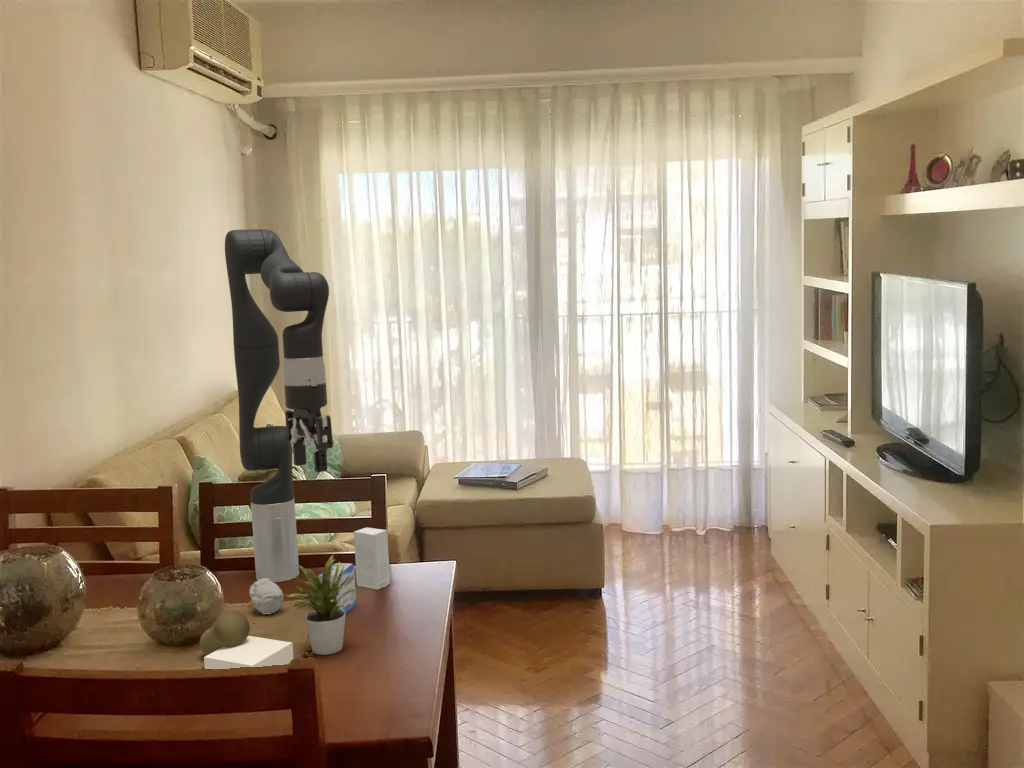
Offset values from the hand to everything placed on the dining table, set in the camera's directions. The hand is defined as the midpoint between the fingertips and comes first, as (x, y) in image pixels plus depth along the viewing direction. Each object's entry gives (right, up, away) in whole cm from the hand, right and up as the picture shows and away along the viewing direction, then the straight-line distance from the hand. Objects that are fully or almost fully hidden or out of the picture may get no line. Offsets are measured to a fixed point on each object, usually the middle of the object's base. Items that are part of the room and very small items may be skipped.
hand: (310, 468), depth 176 cm
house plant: (+4, -31, -8) cm, 32 cm away
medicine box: (+3, -29, +10) cm, 31 cm away
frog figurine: (-11, -30, +10) cm, 33 cm away
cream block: (-6, -33, -20) cm, 39 cm away
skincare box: (+8, -27, +25) cm, 38 cm away
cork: (-9, -25, -18) cm, 32 cm away
